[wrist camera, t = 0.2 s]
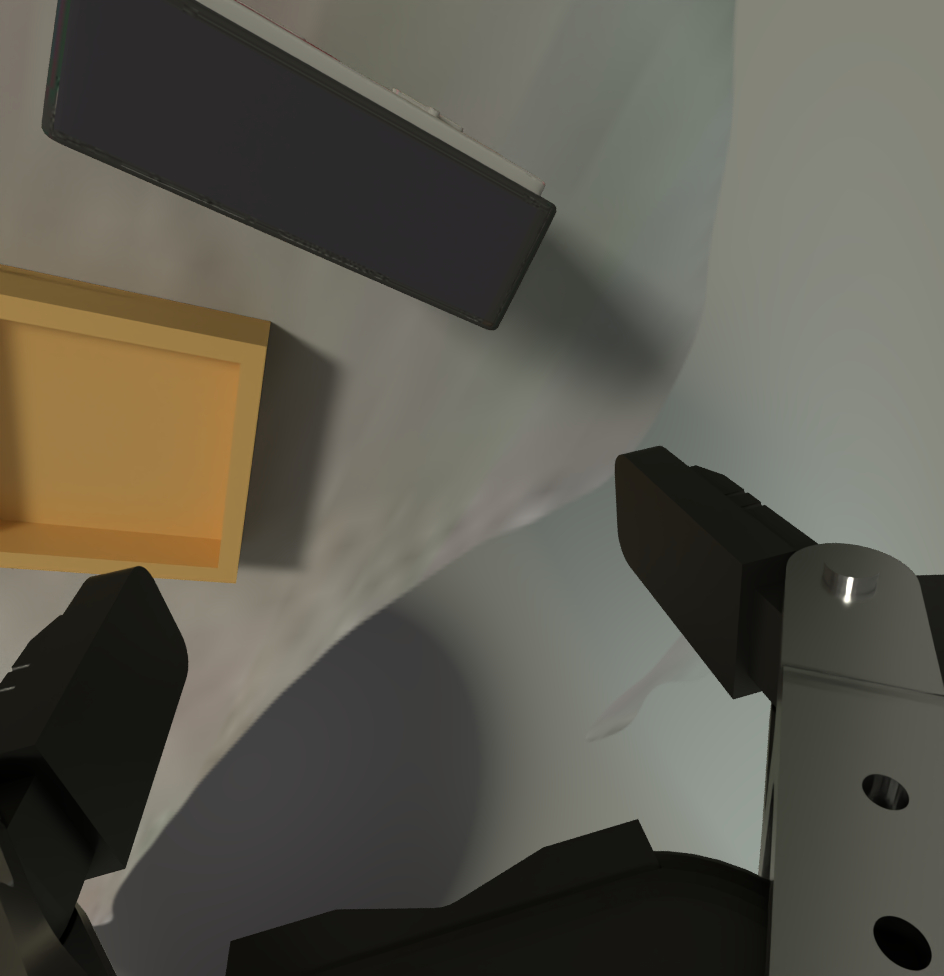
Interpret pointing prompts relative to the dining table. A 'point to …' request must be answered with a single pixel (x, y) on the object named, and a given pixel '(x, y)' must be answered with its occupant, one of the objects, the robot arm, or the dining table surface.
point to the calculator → (294, 147)
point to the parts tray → (124, 429)
